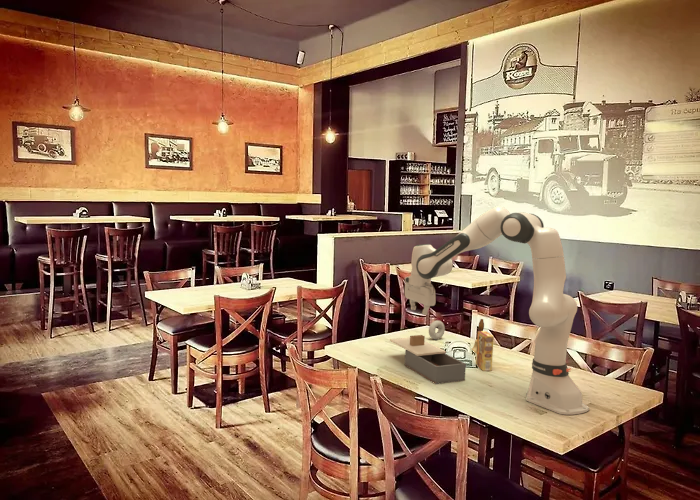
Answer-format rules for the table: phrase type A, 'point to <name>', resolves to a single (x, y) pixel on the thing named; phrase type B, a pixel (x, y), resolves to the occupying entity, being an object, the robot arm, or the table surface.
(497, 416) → the table surface
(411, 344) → the lid
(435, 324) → the donut
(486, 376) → the table surface
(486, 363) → the candy box
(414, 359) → the storage box
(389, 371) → the table surface
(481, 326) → the hand bell
